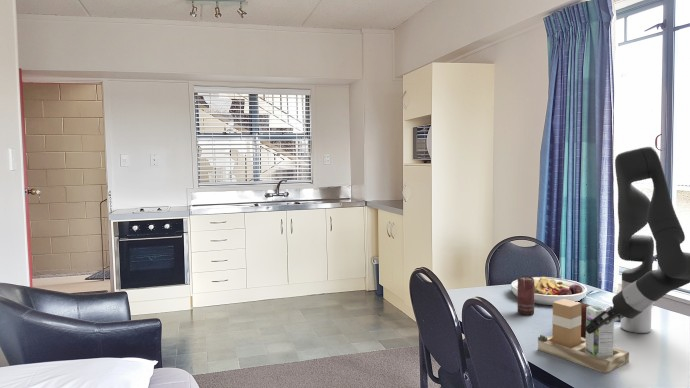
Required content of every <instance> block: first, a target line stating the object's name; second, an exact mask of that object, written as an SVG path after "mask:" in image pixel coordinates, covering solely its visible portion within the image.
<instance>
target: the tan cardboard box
mask: <svg viewBox="0 0 690 388" xmlns="http://www.w3.org/2000/svg"><path fill="white" fill-rule="evenodd" d="M581 303H582V302H575V301H571V300H567V299H562V300H558V301H555V302H553V305H552V335H551V336H552V342H553V343H556V344H559V345H562V346H565V347H568V348H573V347H576V346H578V345H581Z"/></svg>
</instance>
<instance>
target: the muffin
mask: <svg viewBox="0 0 690 388" xmlns="http://www.w3.org/2000/svg"><path fill="white" fill-rule="evenodd" d="M580 303H581V337H582V338H586V330H585V327H586V307H589V306H590V305H588V304H587V303H582V302H580Z"/></svg>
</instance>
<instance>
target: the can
mask: <svg viewBox="0 0 690 388" xmlns="http://www.w3.org/2000/svg"><path fill="white" fill-rule="evenodd" d="M517 280H518V297H517V313H518V314H519V315H521V316H525V317H526V316H527V317H529V316H533V315H534V314H535V303H534V279H533V278H532V277H531V276H519V277H518V279H517Z"/></svg>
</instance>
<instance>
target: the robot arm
mask: <svg viewBox="0 0 690 388" xmlns="http://www.w3.org/2000/svg"><path fill="white" fill-rule="evenodd" d="M614 166H615V167H614V168H615V175H616V183H617V185H616V186H617V217H618V218H617V221H618V237H617V254H618V257H619V258H620V259H621V260H623V261H627V262H640V263H641V264H640V265H638V266H636V267H632V268H629V269H625V270H624V271H622V272H621V290H620V291H619V292H618V293H616V294H615V295H614V296H613V297H612V299H611V301H612V306H609V307H606V308H607V309H606V311H603V312H602V313H601V314H599V315H598V316H597V317H595V318H594V319H593V320H591V321H590V322H591V323H590V324H589V325H588V326H586V327H585V330H586V331H587V332H588V334H591V333H592V332H594V331H595V330H597V329H598V328H601V326H603V325H608V324H610V323H612V322H613V321H614V323H615V322H619V321H620V328H621V329H622V330H624V331H627V332H631V333H637V334H647V333H650V332H651V331H652V330H651V329H652V306H653V305H654V304H655V303H656V302H657V301H658V300H660V299H662V298H663V297H664V296H666V295H667V294H668V293H669V292H671V291H674V290H677V289H679V288H682V287H683V286H687V285H688V284H690V252H684V251H682V248H681V244H683V242H684V241H685V239H686V236H685V232H684V230H683V228H682V225H681V223H680V220H679V218H678V216H677V214H676V210H675V208H674V205H673V202H672V198H671V194H670V190H669V187H668V183H667V179H666V175H665V172H664V168H663V165H662V161H661V159H660V156H659V155H658V152H657V151H656V149H654V147H652V146H643V147H640V148H635V149H630V150H626V151H623V152H620V153H618V154H617V155H616V156H615V160H614ZM648 179H651V180H652V185H653V187H652V188H653V191H652V196H651V198H650V199H651V200H650V199H649V197H648V196H647V195H646V194H645V193H644V192H643V191H641V190H640V189H638V188H636V187H635V186H634V185H633V183H635V182H640V181H644V180H648ZM647 224H648V227H649V229H650V231H651V234H652V236H653V237H652V236H651V235H649V234H648V235H646V234H636V233H638V232H639V231H641V230H642V229H643V228H645V227H646V226H647ZM654 241H655V243H654ZM654 251H655V253H656V260H657V264H658V267H659V269H653V263H654ZM597 320H598V322H599V323H600V324H599V323H598V322H597ZM607 321H609V322H607Z"/></svg>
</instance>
